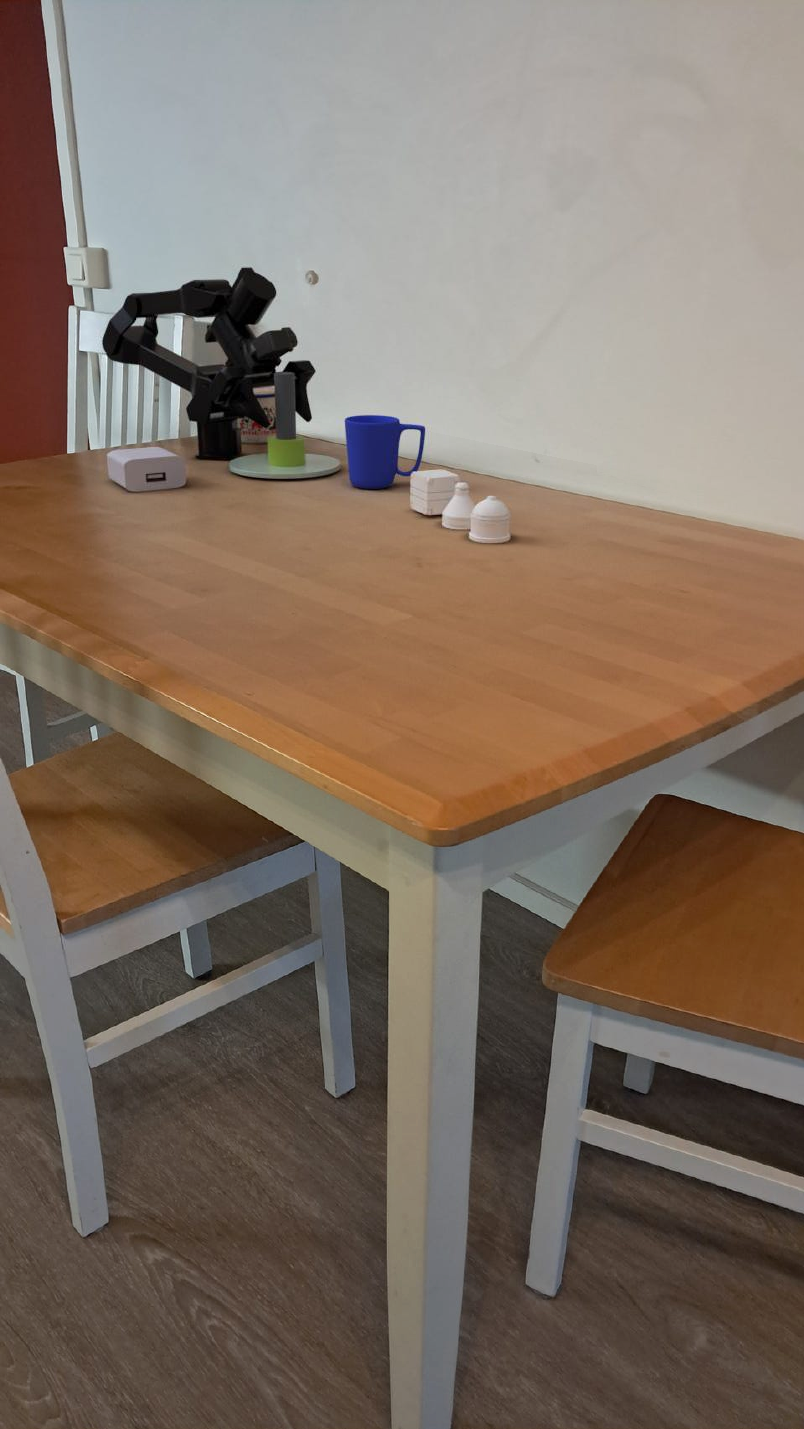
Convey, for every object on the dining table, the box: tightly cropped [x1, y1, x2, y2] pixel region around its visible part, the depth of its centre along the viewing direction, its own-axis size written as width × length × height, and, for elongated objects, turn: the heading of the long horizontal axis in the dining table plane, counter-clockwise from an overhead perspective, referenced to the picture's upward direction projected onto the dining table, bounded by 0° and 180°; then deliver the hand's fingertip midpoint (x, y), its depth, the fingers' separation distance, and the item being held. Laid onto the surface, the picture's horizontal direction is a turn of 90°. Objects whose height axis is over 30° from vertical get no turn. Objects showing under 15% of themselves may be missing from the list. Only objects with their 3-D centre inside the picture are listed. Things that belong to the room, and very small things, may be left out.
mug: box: [344, 414, 426, 490], centre depth 161 cm, size 8×12×10 cm
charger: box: [106, 446, 187, 493], centre depth 164 cm, size 5×9×15 cm
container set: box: [409, 468, 511, 544], centre depth 140 cm, size 20×5×6 cm, turn 27°
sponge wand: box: [267, 371, 306, 467], centre depth 170 cm, size 6×6×14 cm
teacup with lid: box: [237, 386, 276, 445], centre depth 197 cm, size 12×9×12 cm
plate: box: [228, 452, 341, 480], centre depth 173 cm, size 18×18×1 cm
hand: (289, 423), depth 170 cm, fingers open, 9 cm apart
